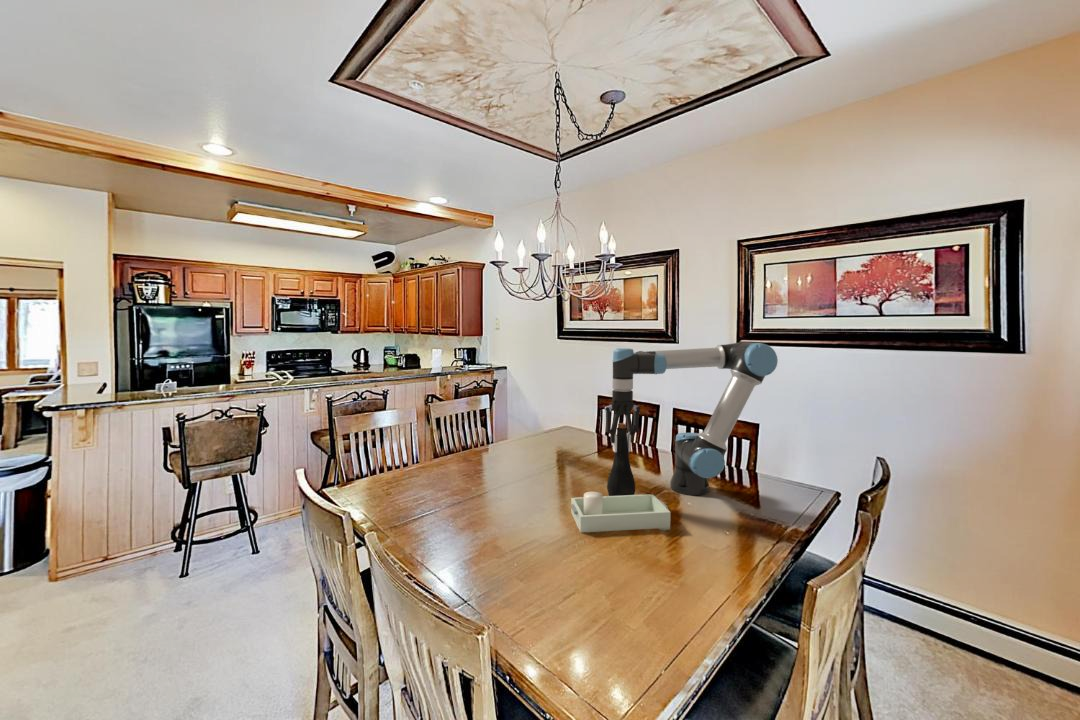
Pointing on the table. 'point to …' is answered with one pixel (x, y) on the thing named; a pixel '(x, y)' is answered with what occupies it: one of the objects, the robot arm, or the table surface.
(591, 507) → the cream capsule cylinder
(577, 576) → the table surface
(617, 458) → the bottle
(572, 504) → the tote
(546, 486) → the table surface
